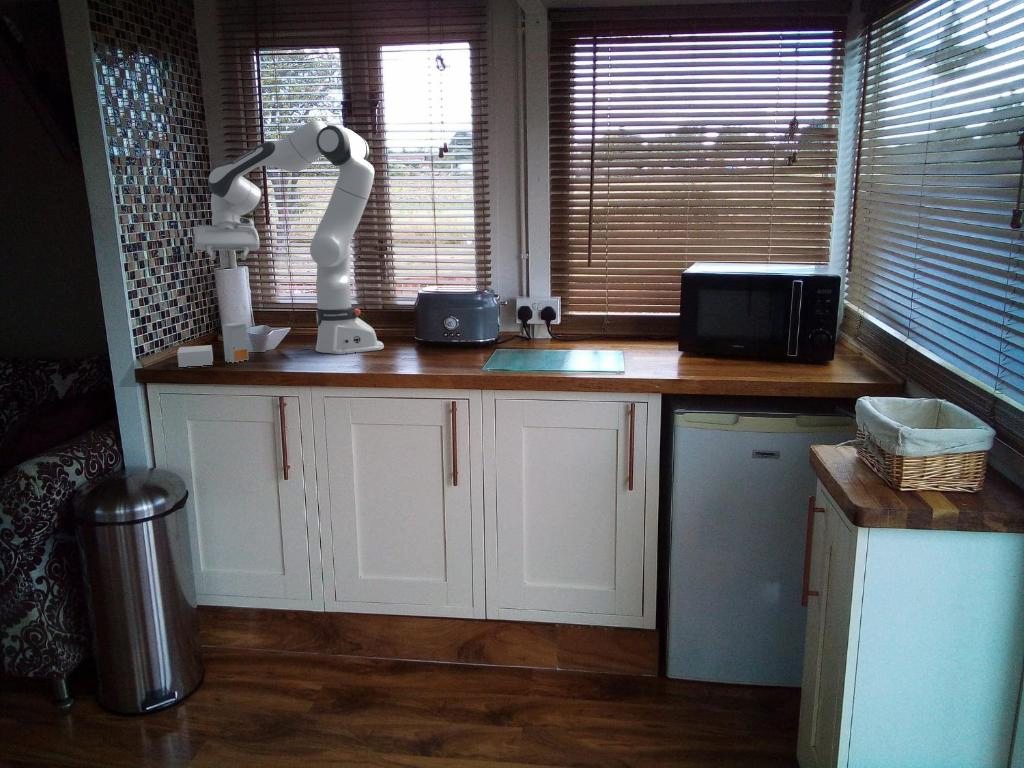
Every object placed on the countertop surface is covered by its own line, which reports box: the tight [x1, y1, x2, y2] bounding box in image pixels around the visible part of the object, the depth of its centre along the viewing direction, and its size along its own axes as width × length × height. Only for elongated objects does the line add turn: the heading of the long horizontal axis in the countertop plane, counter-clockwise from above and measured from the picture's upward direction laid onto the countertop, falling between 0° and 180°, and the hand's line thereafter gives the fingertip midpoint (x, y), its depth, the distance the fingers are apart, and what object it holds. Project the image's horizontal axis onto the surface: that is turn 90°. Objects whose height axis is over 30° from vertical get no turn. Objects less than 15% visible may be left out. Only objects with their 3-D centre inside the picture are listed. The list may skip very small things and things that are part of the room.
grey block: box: [177, 344, 214, 368], centre depth 260 cm, size 10×10×5 cm
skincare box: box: [221, 321, 250, 364], centre depth 262 cm, size 6×4×12 cm
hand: (228, 258), depth 270 cm, fingers open, 8 cm apart
